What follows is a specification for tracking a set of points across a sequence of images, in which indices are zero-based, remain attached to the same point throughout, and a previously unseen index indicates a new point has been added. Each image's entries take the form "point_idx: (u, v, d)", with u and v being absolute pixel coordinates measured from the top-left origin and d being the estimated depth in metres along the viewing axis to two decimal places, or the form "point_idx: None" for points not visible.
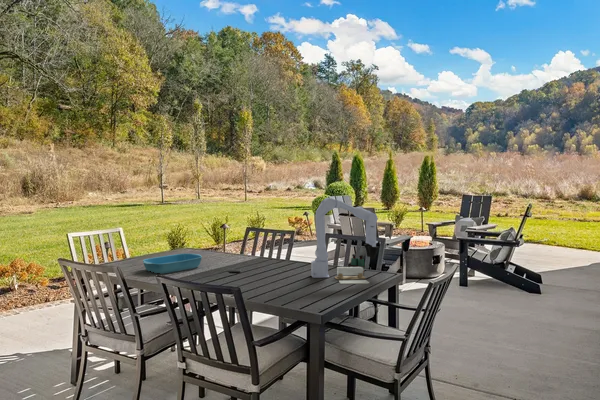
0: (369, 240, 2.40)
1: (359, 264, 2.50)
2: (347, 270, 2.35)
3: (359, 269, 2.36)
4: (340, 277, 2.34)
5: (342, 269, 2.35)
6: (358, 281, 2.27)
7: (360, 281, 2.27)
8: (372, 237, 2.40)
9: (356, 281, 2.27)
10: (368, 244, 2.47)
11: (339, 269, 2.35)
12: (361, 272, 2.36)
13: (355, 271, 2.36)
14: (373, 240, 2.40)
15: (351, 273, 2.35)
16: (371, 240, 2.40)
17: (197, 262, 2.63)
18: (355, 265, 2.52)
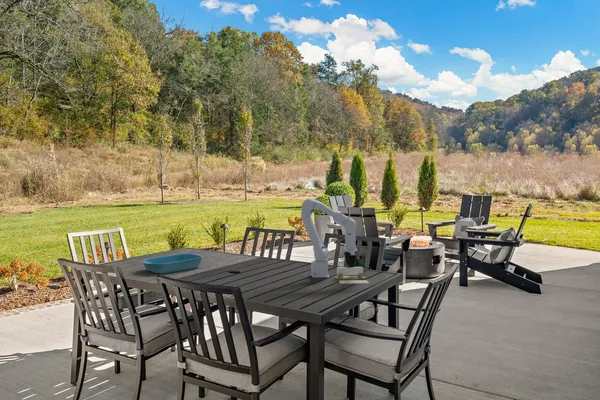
0: (348, 248, 2.34)
1: (359, 264, 2.50)
2: (347, 270, 2.35)
3: (359, 269, 2.36)
4: (340, 277, 2.34)
5: (342, 269, 2.35)
6: (358, 281, 2.27)
7: (360, 281, 2.27)
8: (351, 245, 2.33)
9: (356, 281, 2.27)
10: (348, 252, 2.40)
11: (339, 269, 2.35)
12: (361, 272, 2.36)
13: (355, 271, 2.36)
14: (352, 248, 2.33)
15: (351, 273, 2.35)
16: (350, 248, 2.33)
17: (197, 262, 2.63)
18: (355, 265, 2.52)
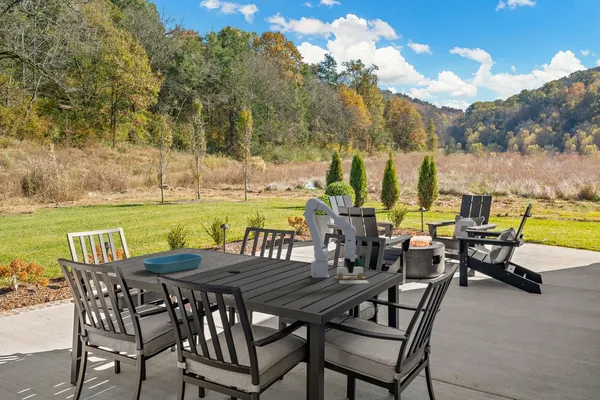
0: (348, 254, 2.34)
1: (359, 264, 2.50)
2: (347, 270, 2.35)
3: (359, 269, 2.36)
4: (340, 277, 2.34)
5: (342, 269, 2.35)
6: (358, 281, 2.27)
7: (360, 281, 2.27)
8: (351, 251, 2.33)
9: (356, 281, 2.27)
10: (348, 259, 2.38)
11: (339, 269, 2.35)
12: (361, 272, 2.36)
13: (355, 271, 2.36)
14: (352, 254, 2.34)
15: (351, 273, 2.35)
16: (350, 254, 2.33)
17: (197, 262, 2.63)
18: (355, 265, 2.52)
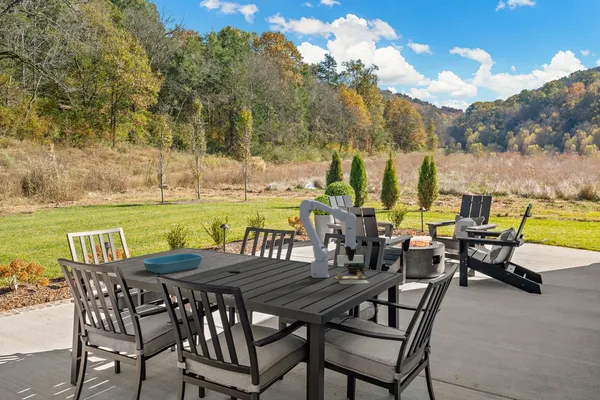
0: (348, 242, 2.33)
1: (359, 264, 2.50)
2: (347, 258, 2.35)
3: (359, 257, 2.35)
4: (340, 277, 2.34)
5: (342, 257, 2.35)
6: (358, 281, 2.27)
7: (360, 281, 2.27)
8: (351, 239, 2.33)
9: (356, 281, 2.27)
10: (348, 247, 2.37)
11: (339, 257, 2.34)
12: (361, 260, 2.35)
13: (355, 259, 2.35)
14: (352, 242, 2.33)
15: (351, 261, 2.35)
16: (350, 242, 2.33)
17: (197, 262, 2.63)
18: (355, 265, 2.52)
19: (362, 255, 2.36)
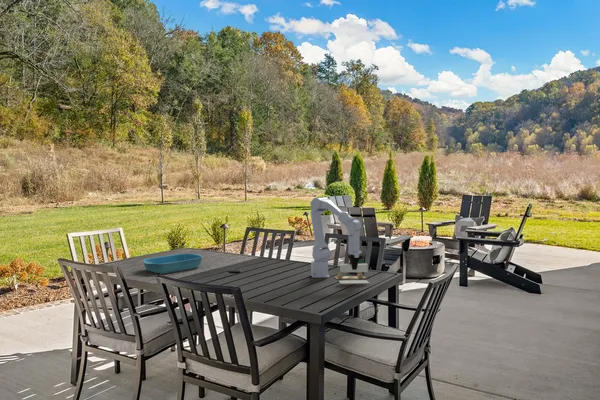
0: (352, 250, 2.24)
1: None
2: (351, 266, 2.25)
3: (363, 266, 2.26)
4: (340, 277, 2.34)
5: (346, 266, 2.25)
6: (358, 281, 2.27)
7: (360, 281, 2.27)
8: (355, 247, 2.23)
9: (356, 281, 2.27)
10: (352, 255, 2.28)
11: (342, 266, 2.25)
12: (365, 269, 2.26)
13: (359, 268, 2.25)
14: (356, 250, 2.24)
15: (355, 270, 2.25)
16: (354, 250, 2.23)
17: (197, 262, 2.63)
18: None
19: (366, 264, 2.26)
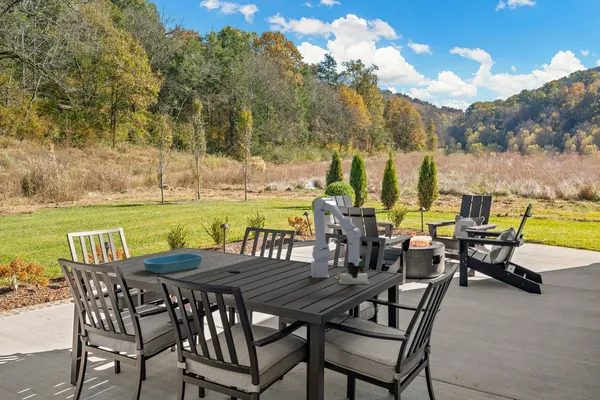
0: (352, 258, 2.24)
1: (359, 264, 2.50)
2: (351, 277, 2.25)
3: (363, 276, 2.26)
4: None
5: (345, 276, 2.25)
6: None
7: None
8: (355, 255, 2.23)
9: None
10: (352, 262, 2.29)
11: (342, 276, 2.25)
12: (365, 279, 2.26)
13: (359, 278, 2.26)
14: (356, 258, 2.24)
15: (355, 280, 2.26)
16: (354, 258, 2.24)
17: (197, 262, 2.63)
18: None
19: (366, 274, 2.27)
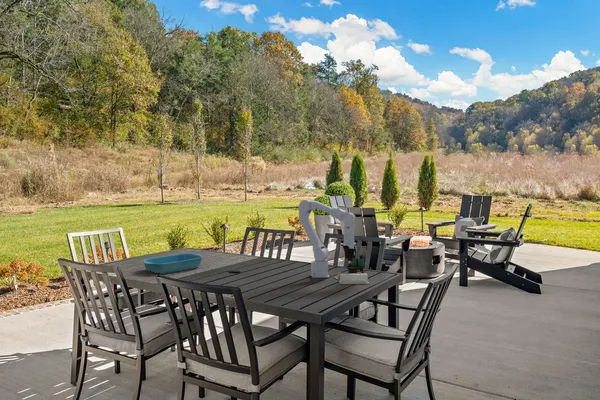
0: (347, 241, 2.33)
1: (359, 264, 2.50)
2: (351, 277, 2.25)
3: (363, 276, 2.26)
4: None
5: (345, 276, 2.25)
6: None
7: None
8: (350, 238, 2.32)
9: None
10: (346, 246, 2.39)
11: (342, 276, 2.25)
12: (365, 279, 2.26)
13: (359, 278, 2.26)
14: (351, 241, 2.33)
15: (355, 280, 2.26)
16: (349, 241, 2.33)
17: (197, 262, 2.63)
18: (355, 265, 2.52)
19: (366, 274, 2.27)
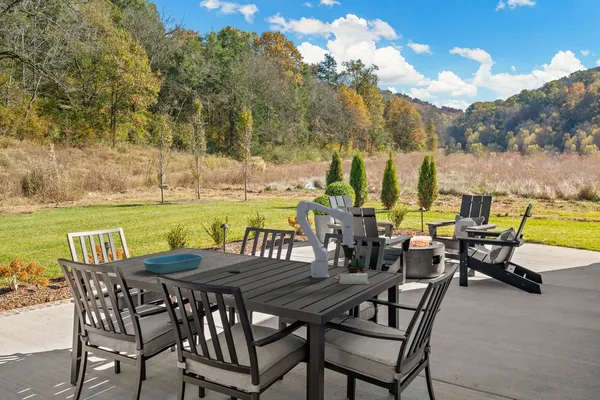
0: (346, 241, 2.35)
1: (359, 264, 2.50)
2: (351, 277, 2.25)
3: (363, 276, 2.26)
4: None
5: (345, 276, 2.25)
6: None
7: None
8: (349, 238, 2.35)
9: None
10: (346, 245, 2.42)
11: (342, 276, 2.25)
12: (365, 279, 2.26)
13: (359, 278, 2.26)
14: (350, 241, 2.35)
15: (355, 280, 2.26)
16: (348, 241, 2.35)
17: (197, 262, 2.63)
18: (355, 265, 2.52)
19: (366, 274, 2.27)
